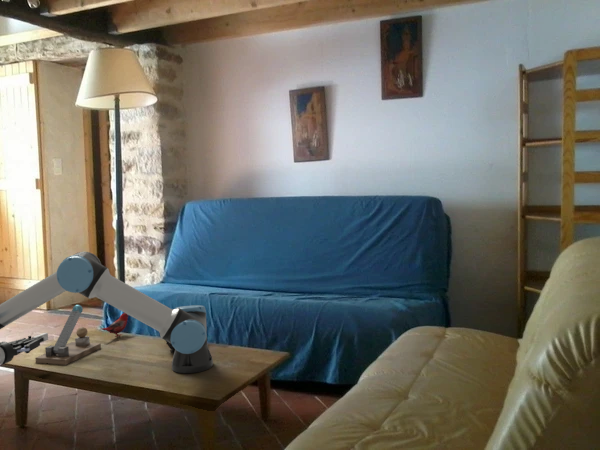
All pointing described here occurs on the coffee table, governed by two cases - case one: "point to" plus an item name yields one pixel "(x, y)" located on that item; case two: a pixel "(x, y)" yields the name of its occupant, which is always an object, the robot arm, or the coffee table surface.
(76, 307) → the lever
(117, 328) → the decorative bird figurine
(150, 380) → the coffee table surface
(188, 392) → the coffee table surface
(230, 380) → the coffee table surface
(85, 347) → the nutcracker base
